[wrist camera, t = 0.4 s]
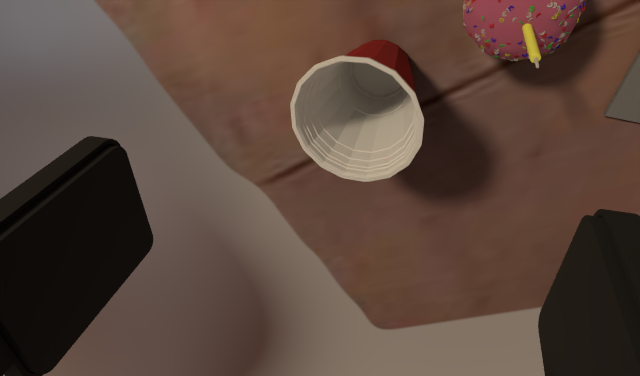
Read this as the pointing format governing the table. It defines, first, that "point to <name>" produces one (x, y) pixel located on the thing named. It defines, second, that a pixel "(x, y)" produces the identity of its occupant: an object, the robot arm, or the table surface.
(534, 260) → the table surface
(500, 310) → the table surface
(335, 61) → the plastic cup
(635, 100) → the mat
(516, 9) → the cupcake
